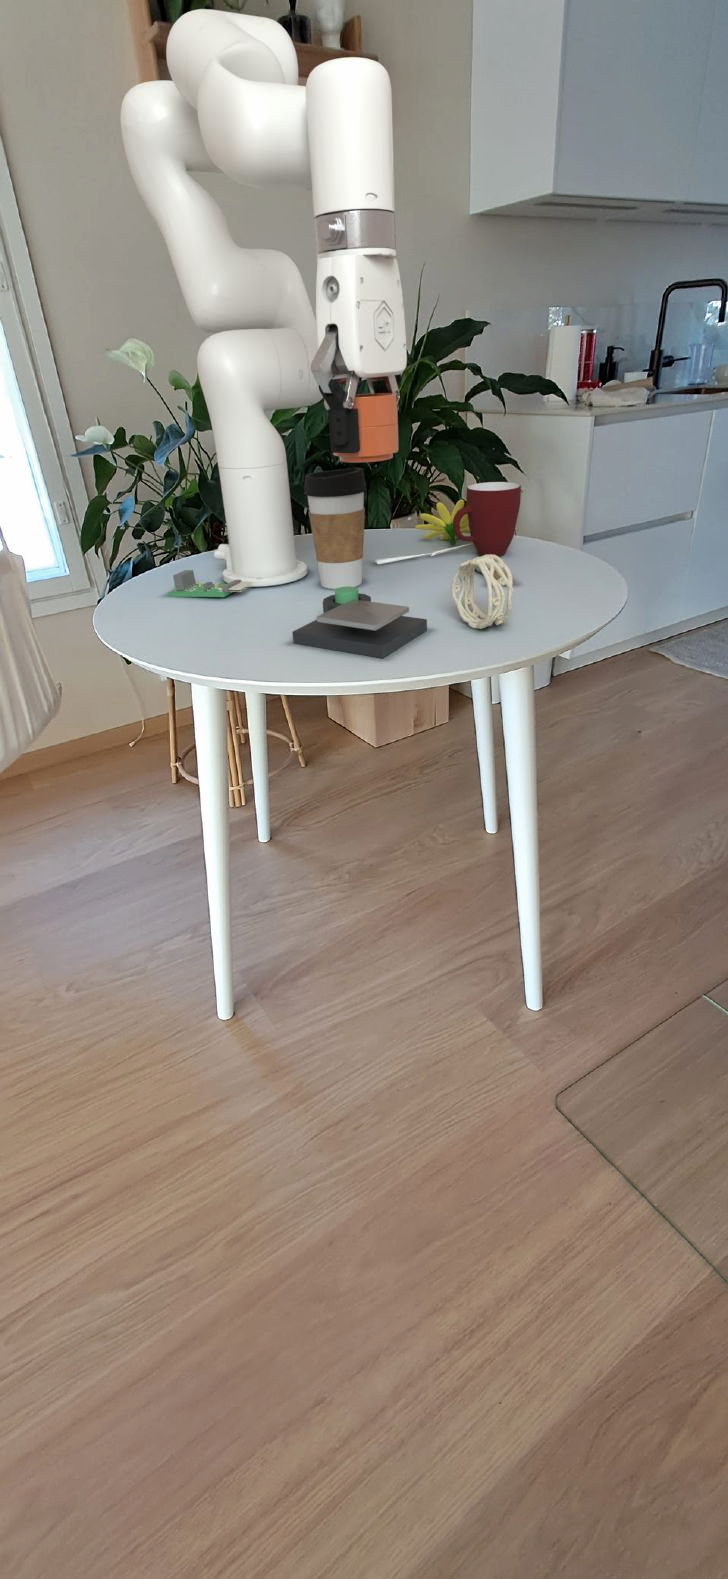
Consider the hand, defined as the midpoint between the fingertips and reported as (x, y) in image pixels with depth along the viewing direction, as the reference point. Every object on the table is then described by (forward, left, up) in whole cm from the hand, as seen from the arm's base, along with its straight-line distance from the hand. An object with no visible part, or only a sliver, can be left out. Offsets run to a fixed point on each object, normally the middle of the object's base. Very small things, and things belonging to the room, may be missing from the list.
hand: (365, 446), depth 80 cm
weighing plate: (+2, -5, -17) cm, 18 cm away
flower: (-14, +38, -16) cm, 43 cm away
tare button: (-4, 0, -17) cm, 18 cm away
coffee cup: (-15, +15, -20) cm, 29 cm away
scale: (0, -3, -20) cm, 20 cm away
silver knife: (-4, +42, -19) cm, 46 cm away
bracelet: (+11, +6, -20) cm, 24 cm away
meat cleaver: (+4, +29, -19) cm, 35 cm away
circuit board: (-30, +7, -18) cm, 36 cm away
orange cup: (0, 0, -1) cm, 1 cm away
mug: (-3, +37, -20) cm, 42 cm away
